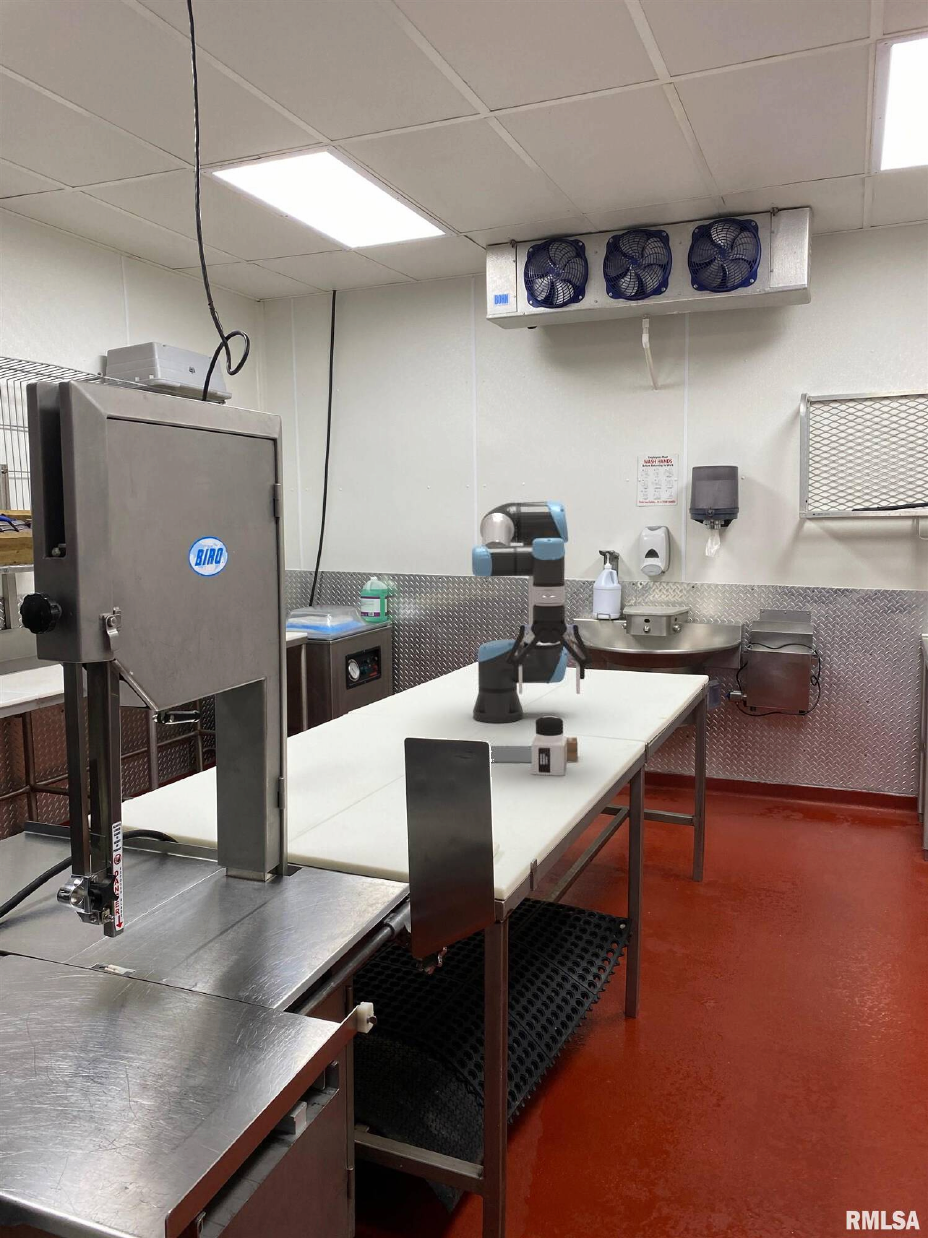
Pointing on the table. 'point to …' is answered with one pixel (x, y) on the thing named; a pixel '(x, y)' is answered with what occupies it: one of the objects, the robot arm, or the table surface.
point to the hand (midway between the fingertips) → (549, 692)
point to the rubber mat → (511, 754)
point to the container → (549, 747)
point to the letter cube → (572, 749)
